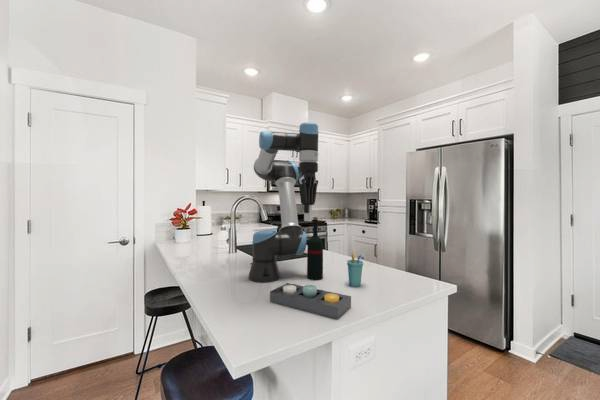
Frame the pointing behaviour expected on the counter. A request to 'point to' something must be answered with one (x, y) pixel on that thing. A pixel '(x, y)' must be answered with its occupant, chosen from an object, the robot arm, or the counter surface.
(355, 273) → the cup
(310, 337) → the counter surface
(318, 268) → the wine bottle
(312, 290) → the button teal
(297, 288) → the console
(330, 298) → the button amber
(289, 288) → the button ivory
